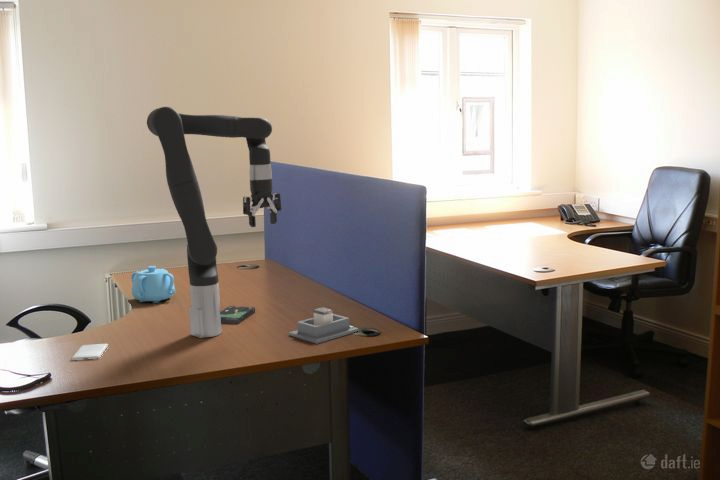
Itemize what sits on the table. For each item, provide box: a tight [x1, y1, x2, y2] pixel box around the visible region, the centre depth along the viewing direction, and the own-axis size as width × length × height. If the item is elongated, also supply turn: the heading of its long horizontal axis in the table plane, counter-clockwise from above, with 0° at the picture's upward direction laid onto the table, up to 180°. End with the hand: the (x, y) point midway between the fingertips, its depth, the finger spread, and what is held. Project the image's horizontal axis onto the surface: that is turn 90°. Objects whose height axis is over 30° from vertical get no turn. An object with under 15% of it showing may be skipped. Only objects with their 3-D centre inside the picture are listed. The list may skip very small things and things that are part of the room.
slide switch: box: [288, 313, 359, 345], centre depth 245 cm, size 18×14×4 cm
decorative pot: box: [131, 265, 177, 304], centre depth 297 cm, size 16×16×14 cm
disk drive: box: [220, 305, 256, 325], centre depth 268 cm, size 10×3×15 cm
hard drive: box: [71, 343, 109, 361], centre depth 231 cm, size 2×8×12 cm
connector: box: [312, 306, 334, 326], centre depth 244 cm, size 4×5×7 cm
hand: (263, 225), depth 255 cm, fingers open, 8 cm apart
